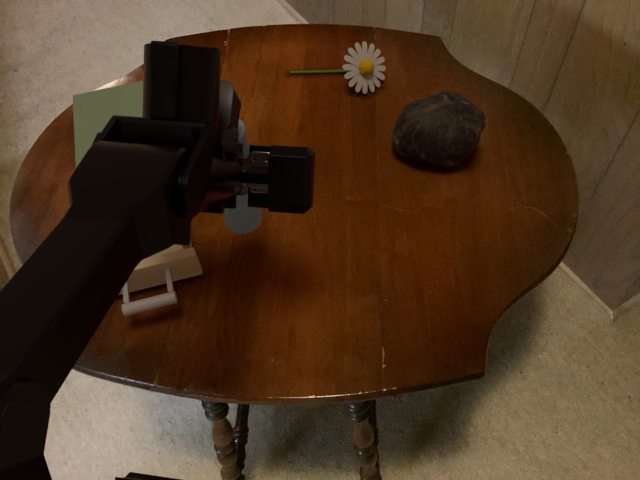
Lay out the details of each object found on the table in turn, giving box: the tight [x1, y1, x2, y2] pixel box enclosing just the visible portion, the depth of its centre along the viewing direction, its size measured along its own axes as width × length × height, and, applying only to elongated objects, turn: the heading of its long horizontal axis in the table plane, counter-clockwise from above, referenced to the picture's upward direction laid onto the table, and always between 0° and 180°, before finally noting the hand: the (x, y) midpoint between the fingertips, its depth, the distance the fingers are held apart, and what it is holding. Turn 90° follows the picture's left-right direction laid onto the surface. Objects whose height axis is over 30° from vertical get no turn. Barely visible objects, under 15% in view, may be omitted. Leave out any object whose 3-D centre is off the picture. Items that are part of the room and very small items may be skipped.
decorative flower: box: [289, 40, 387, 95], centre depth 92 cm, size 8×6×15 cm
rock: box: [391, 89, 488, 168], centre depth 80 cm, size 10×11×10 cm
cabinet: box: [72, 80, 143, 168], centre depth 84 cm, size 17×13×6 cm
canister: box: [221, 118, 263, 235], centre depth 64 cm, size 4×4×14 cm
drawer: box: [118, 238, 203, 317], centre depth 73 cm, size 21×12×4 cm, turn 15°
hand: (237, 171), depth 65 cm, fingers closed on canister, 4 cm apart
